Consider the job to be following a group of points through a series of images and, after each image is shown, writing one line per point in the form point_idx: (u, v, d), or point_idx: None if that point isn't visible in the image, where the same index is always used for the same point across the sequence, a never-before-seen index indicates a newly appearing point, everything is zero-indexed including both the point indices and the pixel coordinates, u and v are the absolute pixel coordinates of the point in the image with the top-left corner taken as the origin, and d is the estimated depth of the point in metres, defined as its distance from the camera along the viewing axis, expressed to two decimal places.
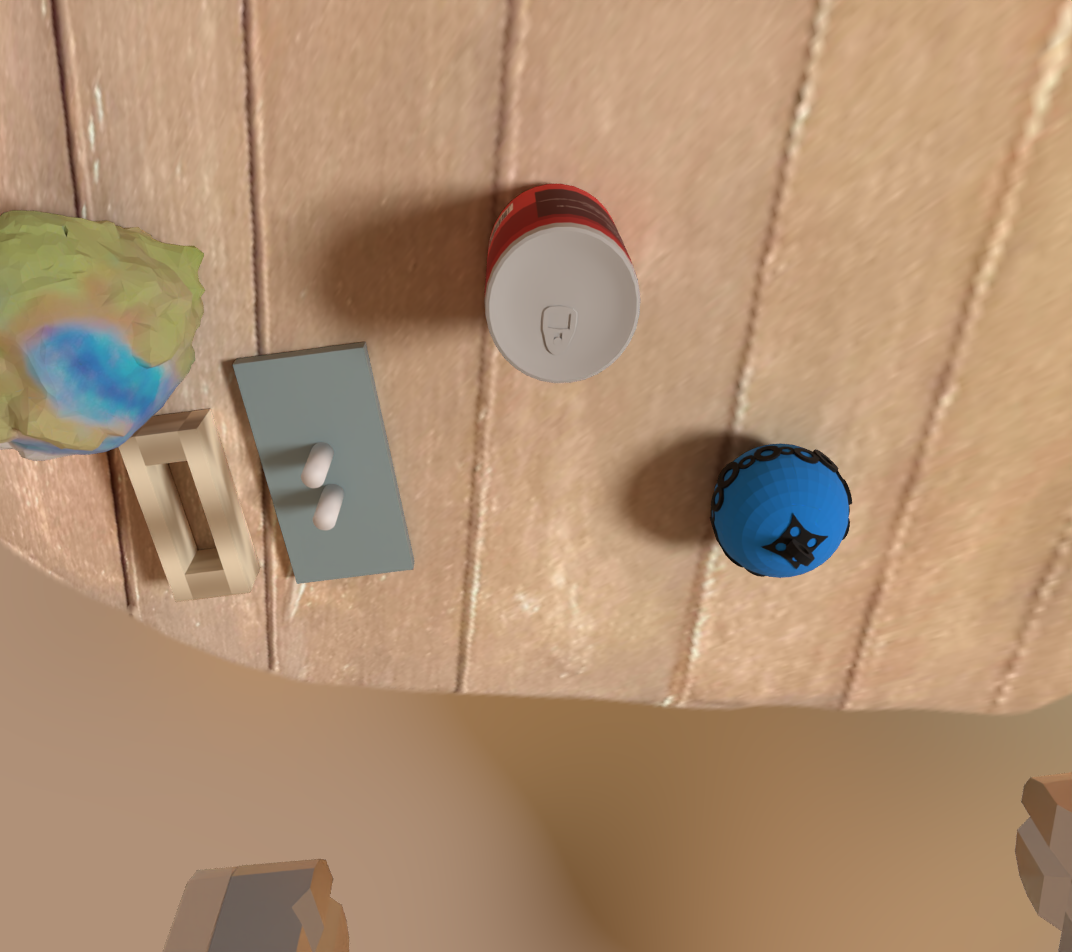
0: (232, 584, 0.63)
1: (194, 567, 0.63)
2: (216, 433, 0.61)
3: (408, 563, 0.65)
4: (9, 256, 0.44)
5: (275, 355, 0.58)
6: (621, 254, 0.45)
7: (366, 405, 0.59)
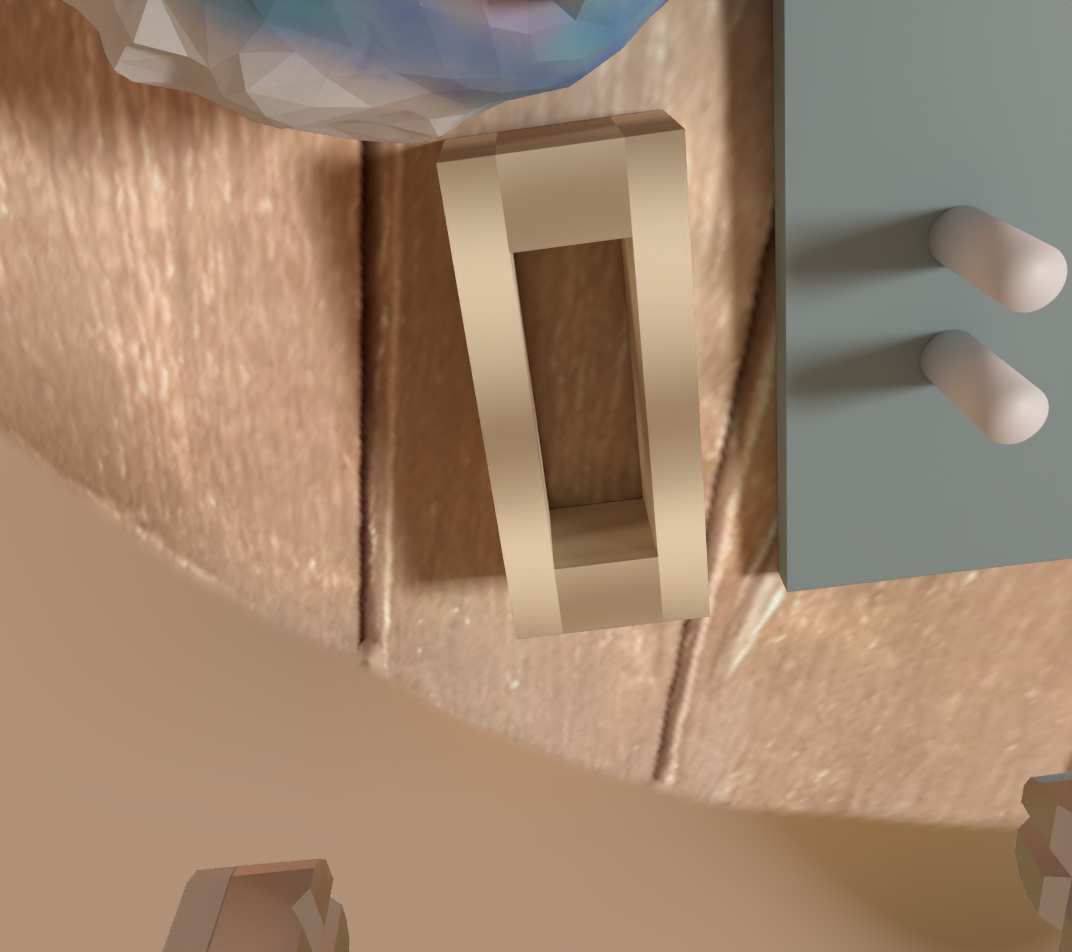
0: (671, 595, 0.24)
1: (569, 551, 0.25)
2: None
3: (1070, 543, 0.26)
4: None
5: None
6: None
7: None
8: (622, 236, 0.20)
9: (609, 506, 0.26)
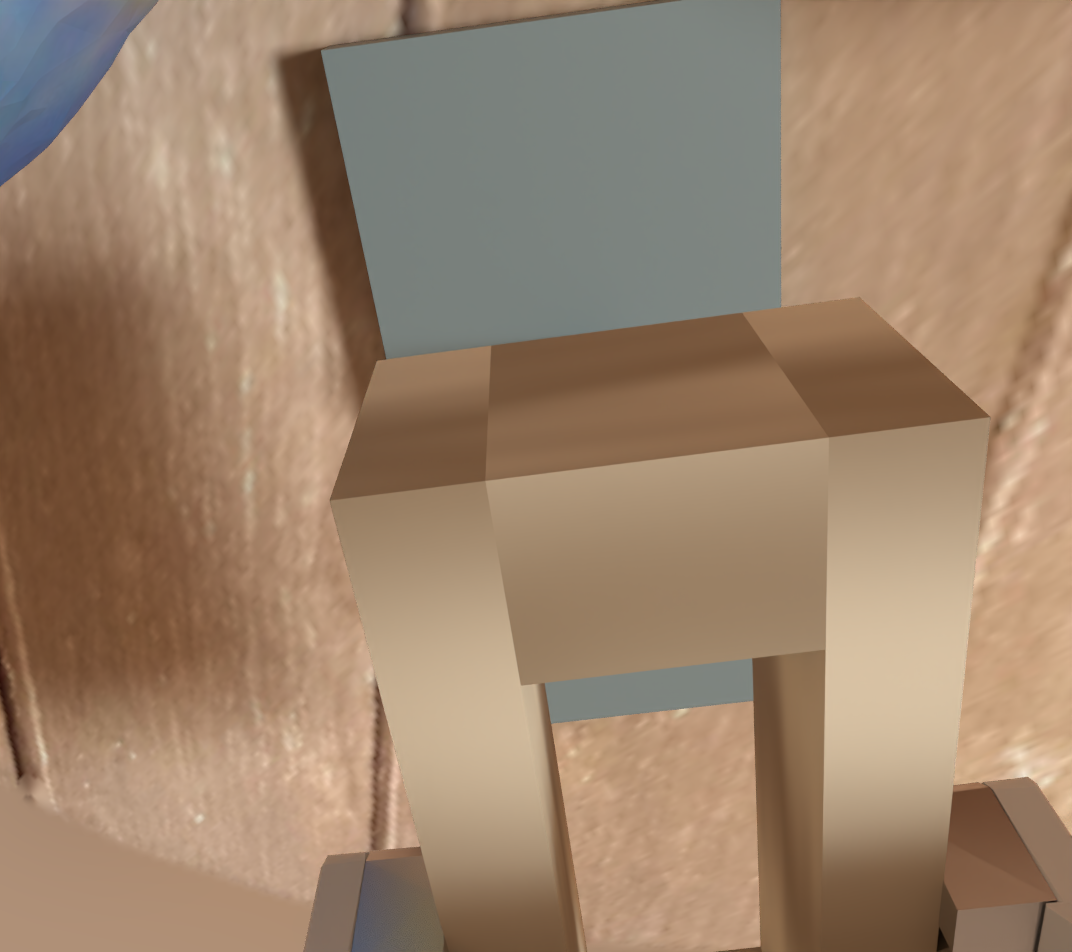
0: None
1: None
2: None
3: None
4: None
5: (464, 28, 0.17)
6: None
7: (748, 210, 0.18)
8: (801, 650, 0.08)
9: None
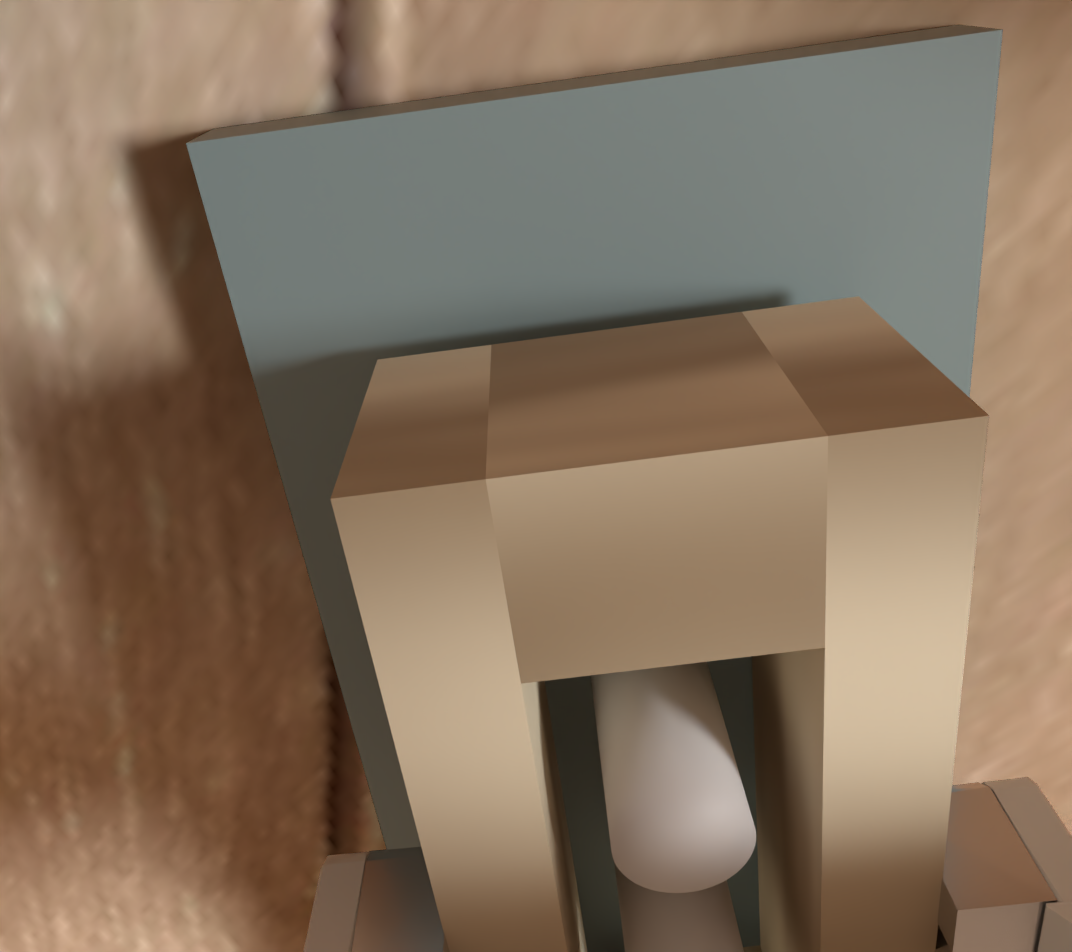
0: None
1: None
2: None
3: None
4: None
5: (439, 100, 0.10)
6: None
7: None
8: (800, 648, 0.08)
9: None
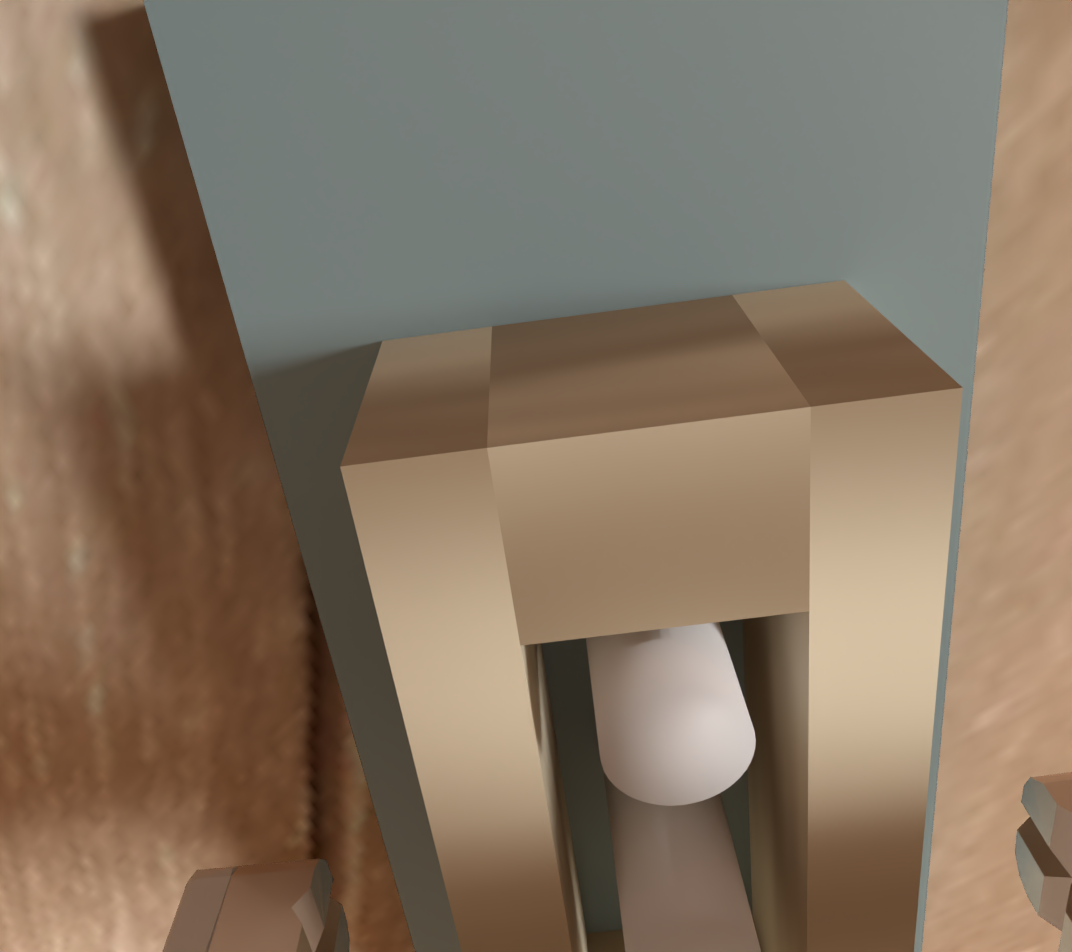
0: None
1: None
2: None
3: None
4: None
5: None
6: None
7: (925, 288, 0.10)
8: (786, 611, 0.09)
9: None
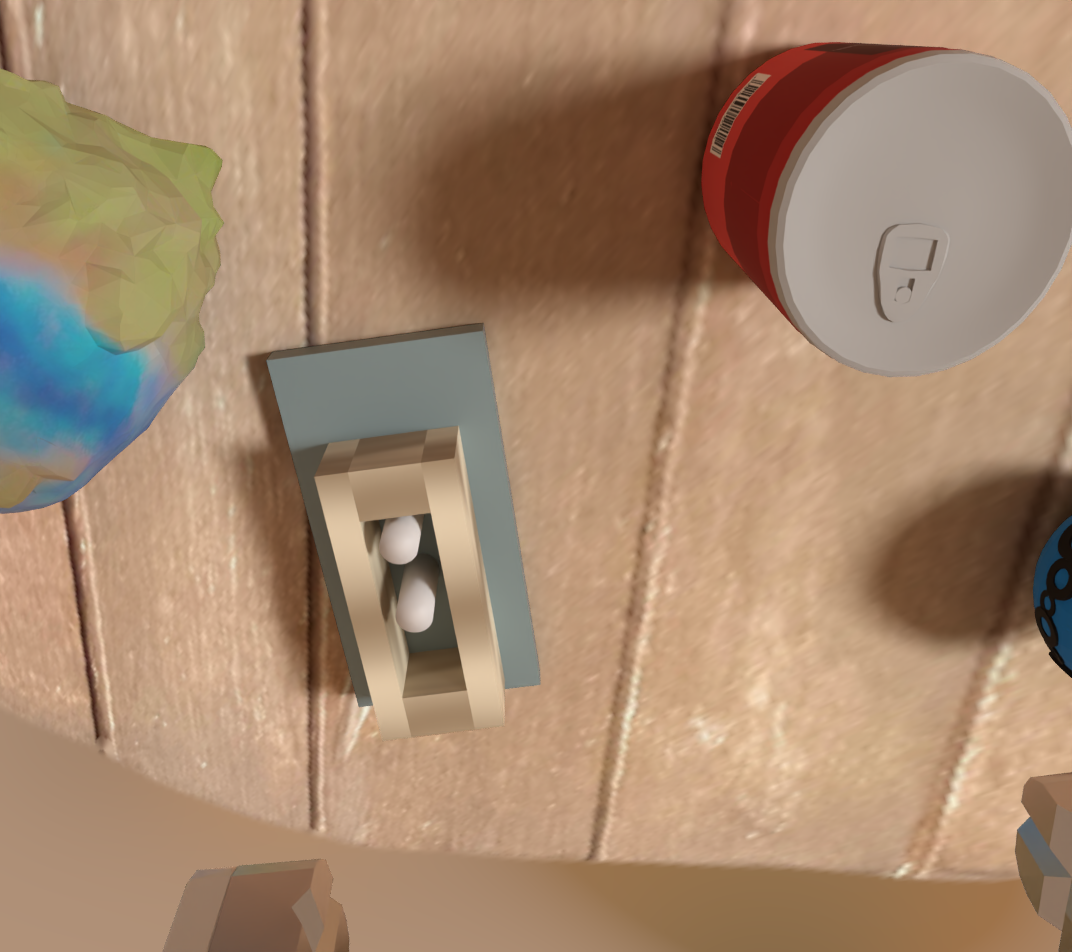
0: (478, 713, 0.38)
1: (414, 685, 0.39)
2: (465, 466, 0.37)
3: (533, 675, 0.41)
4: None
5: (336, 345, 0.36)
6: (1062, 113, 0.23)
7: (482, 427, 0.36)
8: (424, 512, 0.34)
9: (447, 651, 0.40)
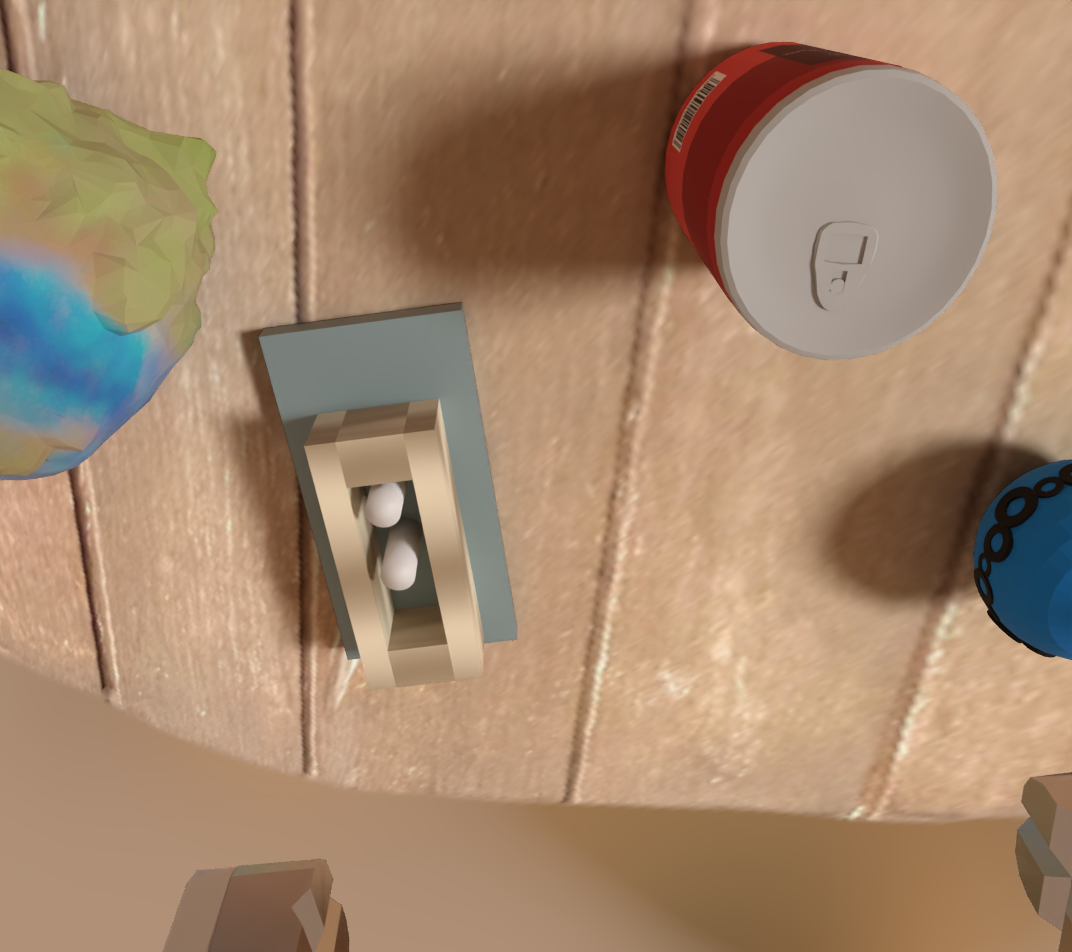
0: (458, 665, 0.41)
1: (399, 639, 0.42)
2: (445, 436, 0.39)
3: (510, 631, 0.44)
4: None
5: (324, 323, 0.38)
6: (977, 123, 0.25)
7: (461, 400, 0.39)
8: (407, 479, 0.37)
9: (430, 608, 0.43)
